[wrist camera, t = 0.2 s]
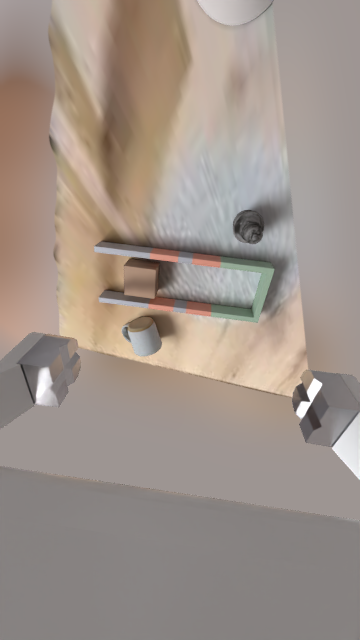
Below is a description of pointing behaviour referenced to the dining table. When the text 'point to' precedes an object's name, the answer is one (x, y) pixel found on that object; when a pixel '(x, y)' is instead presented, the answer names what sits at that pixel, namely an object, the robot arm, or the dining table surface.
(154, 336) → the ceramic mug
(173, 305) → the frame
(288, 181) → the dining table surface
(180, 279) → the dining table surface
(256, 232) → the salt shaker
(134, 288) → the walnut block
